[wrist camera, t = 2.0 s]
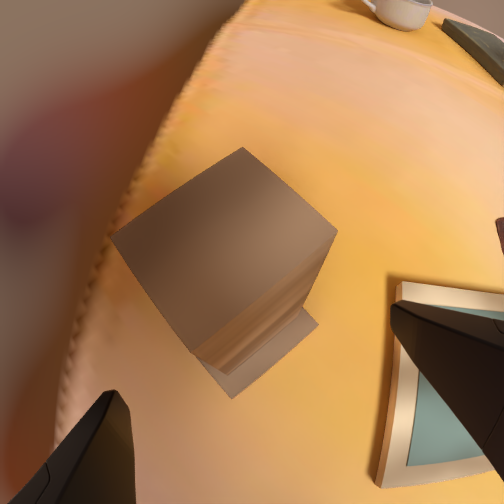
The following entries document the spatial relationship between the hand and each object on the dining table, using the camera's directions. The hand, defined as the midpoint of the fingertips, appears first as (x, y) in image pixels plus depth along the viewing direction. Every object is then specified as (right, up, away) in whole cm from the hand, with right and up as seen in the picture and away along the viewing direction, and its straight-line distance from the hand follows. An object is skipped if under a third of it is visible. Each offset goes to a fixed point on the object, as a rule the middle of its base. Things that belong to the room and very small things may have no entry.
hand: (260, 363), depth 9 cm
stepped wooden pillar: (-1, -1, +11) cm, 11 cm away
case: (+49, +42, +31) cm, 72 cm away
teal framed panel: (+15, -6, +9) cm, 18 cm away
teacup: (+24, +44, +33) cm, 60 cm away
